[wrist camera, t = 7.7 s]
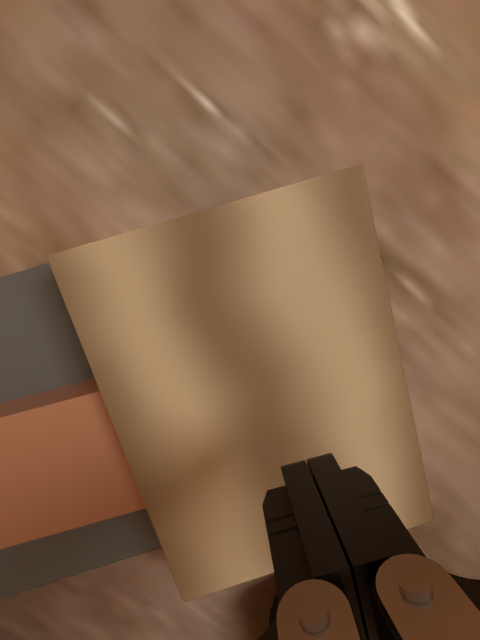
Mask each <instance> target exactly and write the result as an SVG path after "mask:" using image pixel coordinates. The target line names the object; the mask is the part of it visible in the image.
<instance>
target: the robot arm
mask: <svg viewBox="0 0 480 640" xmlns="http://www.w3.org/2000/svg"><path fill="white" fill-rule="evenodd" d="M280 468H281V472H282V475H283V479H284V483H285V486H281V487H277V488H274V489H270V490H267V492H266V495H265V498H264V501H263V504H262V507H263V513H264V518H265V523H266V530H267V535H268V541H269V546H270V552H271V557H272V563H273V568H274V574H275V580H276V585H277V591H278V606H277V611H276V614H275V616H274V619H273V621H272V623H271V624H270V626H269V627H268V629H267V630H266V631H265V632H264V633H263V635H262V636H261V637H259V638H258V639H257V640H366V639H367V640H480V580H475V579H467V578H463V577H459V576H456V575H453V574H450V573H448V572H447V571H446V570H445V569H444V568H443V567H442V566H441V565H439V564H438V563H436V562H435V561H433V560H431V559H429V558H427V557H426V556H425V555H424V554H423V552H422V551H421V549H420V548H419V546H418V545H417V543H416V542H415V541H414V539H413V538H412V536H411V535H410V533H409V532H408V530H407V529H406V527H405V526H404V524H403V523H402V521H401V520H400V518H399V517H398V515H397V514H396V512H395V511H394V509H393V508H392V506H391V505H389V502H388V500H387V499H386V497H385V496H384V494H383V493H381V490H380V488H379V487H378V485H377V484H376V482H375V481H374V479H373V478H372V476H371V475H369V474H368V473H366V472H364V471H363V470H361V469H360V468H358V467H357V466H354V467H350V468H347V469H343V470H341V468H340V467H339V465H338V463H337V461H336V459H335V458H334V456H333V454H332V453H328V454H324V455H320V456H317V457H313V458H309V459H307V464H306V461H305V460H302V461H299V462H295V463H291V464H288V465H284V466H280Z"/></svg>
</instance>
